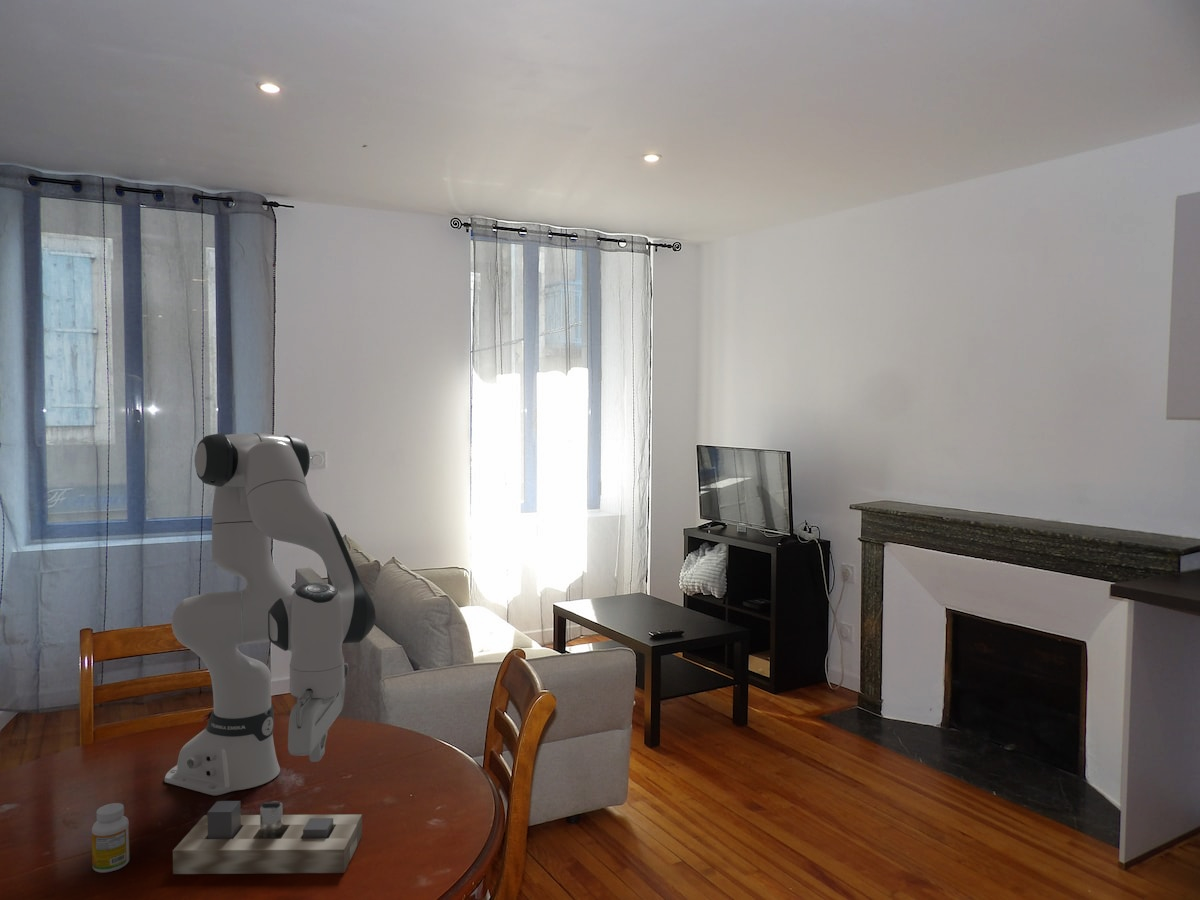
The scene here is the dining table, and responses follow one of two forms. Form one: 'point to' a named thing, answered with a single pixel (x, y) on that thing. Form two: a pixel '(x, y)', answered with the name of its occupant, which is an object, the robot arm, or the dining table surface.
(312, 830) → the outer button
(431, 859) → the dining table surface
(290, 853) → the mount
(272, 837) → the steel dial
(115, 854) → the supplement bottle
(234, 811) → the inner button
